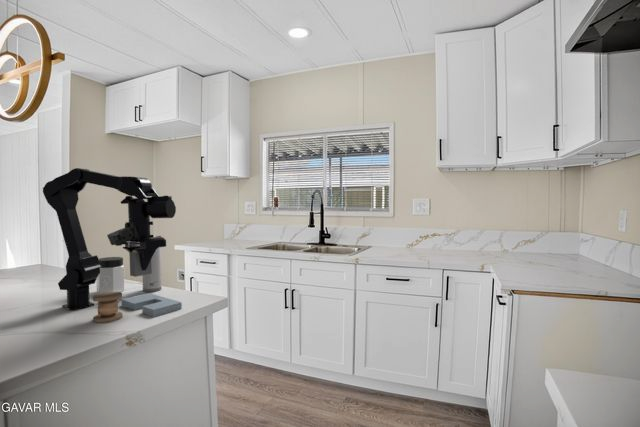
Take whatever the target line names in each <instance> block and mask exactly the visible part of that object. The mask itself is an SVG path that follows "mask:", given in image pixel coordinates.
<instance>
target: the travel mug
mask: <svg viewBox="0 0 640 427" xmlns="http://www.w3.org/2000/svg"><path fill="white" fill-rule="evenodd" d="M155 237H162V236H161V235H157V236H155ZM151 266H152V274H147V275H142V291H143V292H145V293H155V292H159V291H161V290H162V286H163V284H162V247H159V248H158V249H156V251H155V253H154V255H153V256H152V258H151Z"/></svg>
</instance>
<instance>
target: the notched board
mask: <svg viewBox="0 0 640 427" xmlns="http://www.w3.org/2000/svg"><path fill="white" fill-rule="evenodd" d="M120 299H121V300H120V301H121V302H120V303H121V304H120V306H121V307H125V308H127V309H130V310H133V311H136V310H140V309H142V311H141V312H142V314H145V315H147V316H150V317H153V318H154V317H157V316H161V315H165V314H167V313H171V312H175V311H178V310H181V309H182V305H183V304H182V302H181V301H179V300H176V299H171V298H169V297H165V296H160V295H157V294H154V293H152V292H146V293H143V294H139V295H135V296H131V297H129V296H128V297H126V298H120Z"/></svg>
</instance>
